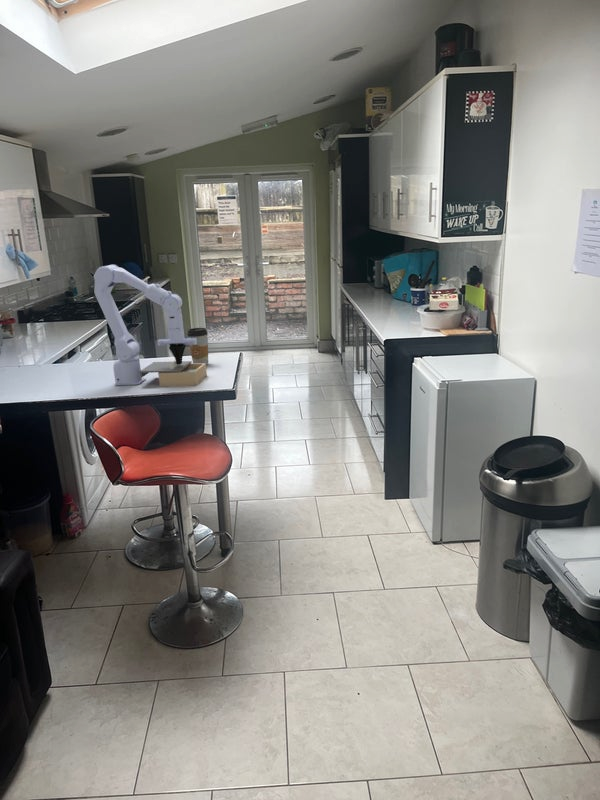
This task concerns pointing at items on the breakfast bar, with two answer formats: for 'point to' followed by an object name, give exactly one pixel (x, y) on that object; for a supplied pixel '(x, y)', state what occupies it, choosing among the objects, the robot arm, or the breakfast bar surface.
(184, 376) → the storage box
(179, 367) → the grey square slab
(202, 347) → the coffee cup
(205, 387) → the breakfast bar surface
